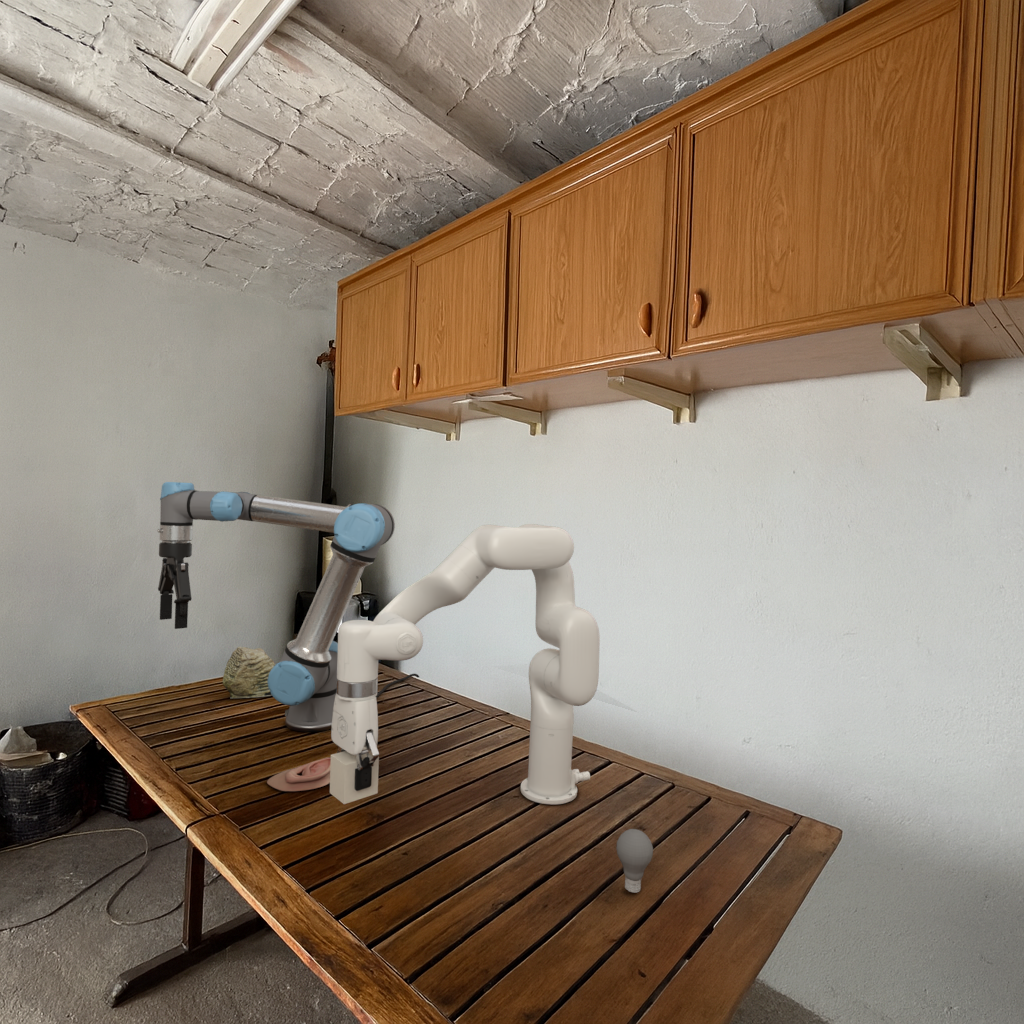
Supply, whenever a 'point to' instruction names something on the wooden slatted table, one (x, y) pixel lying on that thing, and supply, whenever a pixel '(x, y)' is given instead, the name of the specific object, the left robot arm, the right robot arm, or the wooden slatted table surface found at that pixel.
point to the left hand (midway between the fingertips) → (173, 623)
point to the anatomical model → (303, 777)
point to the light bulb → (634, 857)
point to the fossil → (248, 673)
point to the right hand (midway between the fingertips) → (354, 781)
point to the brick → (349, 777)
